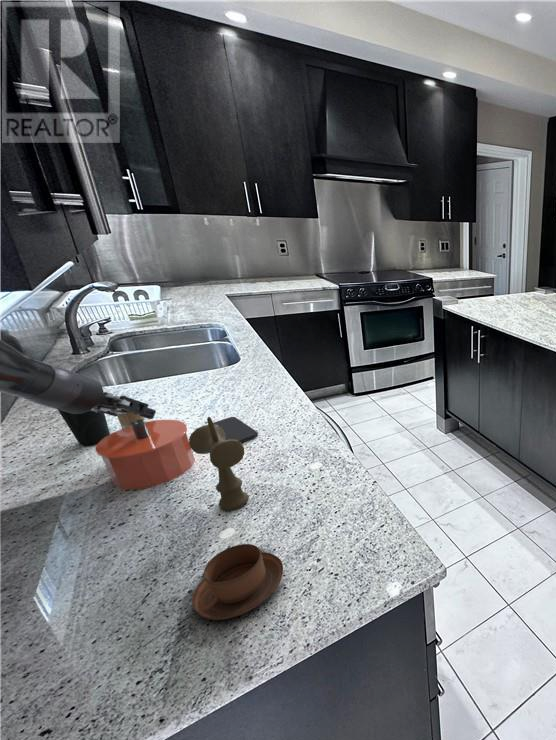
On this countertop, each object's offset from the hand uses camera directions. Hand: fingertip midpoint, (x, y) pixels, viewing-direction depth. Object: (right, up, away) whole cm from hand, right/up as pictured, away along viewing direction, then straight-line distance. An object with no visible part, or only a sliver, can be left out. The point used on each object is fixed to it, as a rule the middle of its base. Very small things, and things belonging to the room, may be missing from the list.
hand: (136, 413), depth 94 cm
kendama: (+32, -18, -12) cm, 38 cm away
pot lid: (+10, -5, -9) cm, 14 cm away
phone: (+14, -6, +12) cm, 19 cm away
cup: (-16, -7, +7) cm, 19 cm away
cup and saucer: (+45, -26, -30) cm, 60 cm away
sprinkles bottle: (0, -10, +3) cm, 10 cm away
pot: (+10, -13, -5) cm, 17 cm away
